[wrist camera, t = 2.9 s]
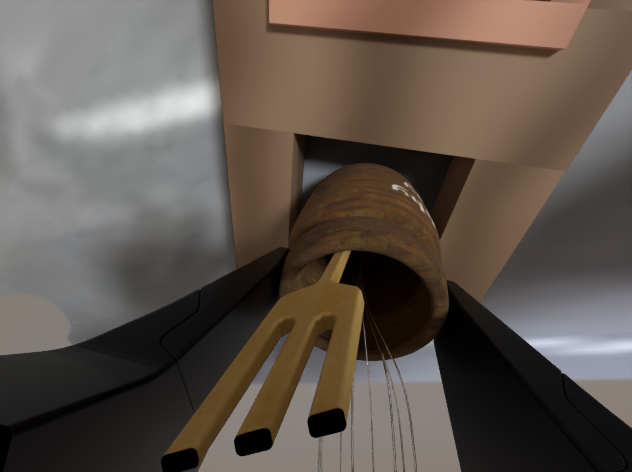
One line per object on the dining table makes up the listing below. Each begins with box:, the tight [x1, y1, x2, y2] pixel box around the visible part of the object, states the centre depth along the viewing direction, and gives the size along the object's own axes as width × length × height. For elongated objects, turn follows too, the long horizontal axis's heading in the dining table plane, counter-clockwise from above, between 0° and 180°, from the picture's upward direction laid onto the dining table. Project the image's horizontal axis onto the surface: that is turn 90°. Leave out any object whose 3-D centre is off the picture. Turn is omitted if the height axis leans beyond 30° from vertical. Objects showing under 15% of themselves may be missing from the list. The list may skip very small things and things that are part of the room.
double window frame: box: [213, 0, 632, 303], centre depth 10 cm, size 14×24×3 cm, turn 174°
